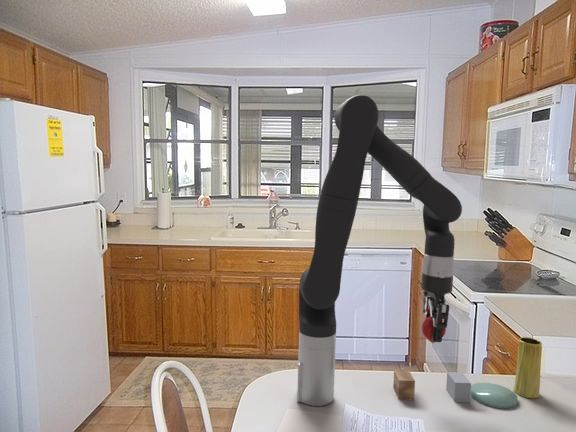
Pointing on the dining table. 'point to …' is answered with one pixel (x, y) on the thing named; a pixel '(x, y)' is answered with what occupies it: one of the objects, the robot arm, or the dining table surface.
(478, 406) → the dining table surface
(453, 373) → the slate block
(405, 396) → the walnut block
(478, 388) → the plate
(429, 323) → the onion
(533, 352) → the vase
